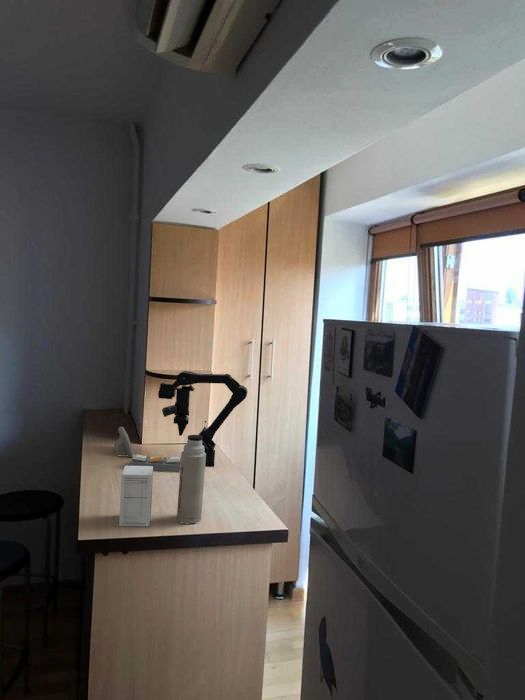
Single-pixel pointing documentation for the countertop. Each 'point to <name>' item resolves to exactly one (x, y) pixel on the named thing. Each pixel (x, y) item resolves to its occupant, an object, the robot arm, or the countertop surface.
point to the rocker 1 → (139, 457)
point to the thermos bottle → (191, 480)
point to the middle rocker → (156, 458)
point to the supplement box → (136, 496)
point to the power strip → (159, 464)
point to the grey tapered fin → (123, 444)
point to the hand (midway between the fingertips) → (180, 435)
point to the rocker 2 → (173, 459)
